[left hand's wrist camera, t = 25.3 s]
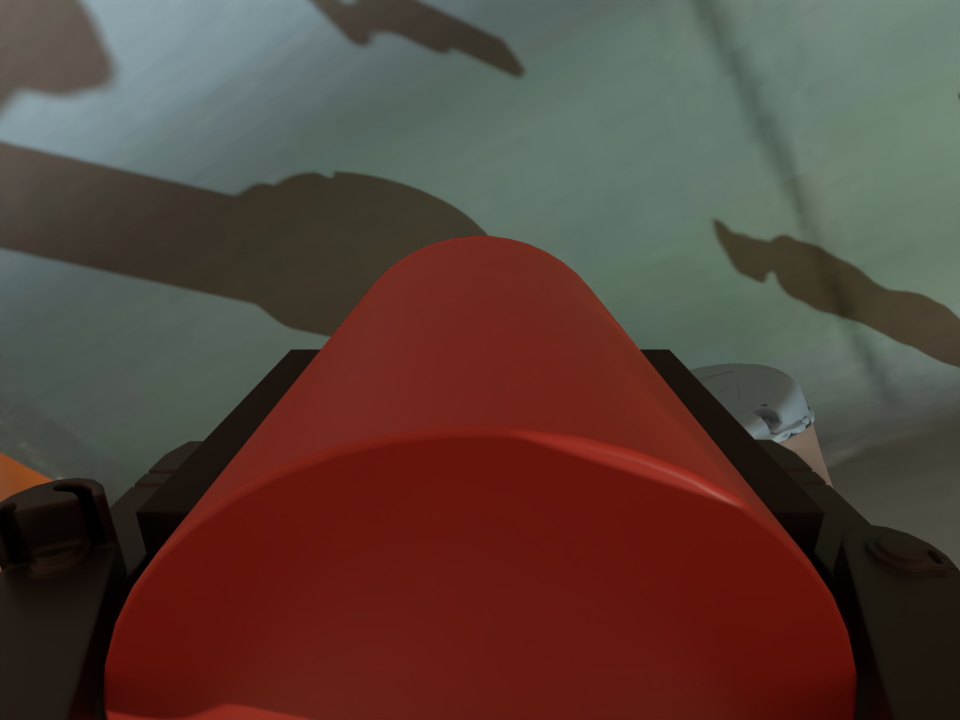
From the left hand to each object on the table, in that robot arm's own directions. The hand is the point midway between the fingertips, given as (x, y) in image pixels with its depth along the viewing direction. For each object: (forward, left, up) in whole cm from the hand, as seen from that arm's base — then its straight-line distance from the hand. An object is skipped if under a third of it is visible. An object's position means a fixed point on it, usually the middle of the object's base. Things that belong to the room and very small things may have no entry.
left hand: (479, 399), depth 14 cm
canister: (0, 0, -2) cm, 2 cm away
